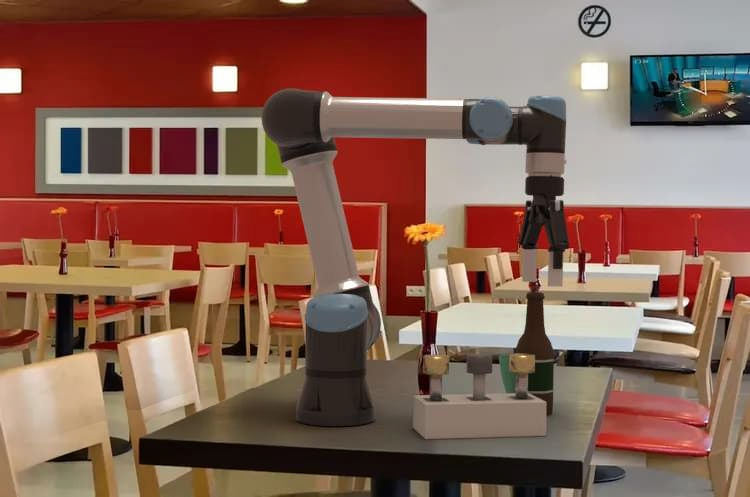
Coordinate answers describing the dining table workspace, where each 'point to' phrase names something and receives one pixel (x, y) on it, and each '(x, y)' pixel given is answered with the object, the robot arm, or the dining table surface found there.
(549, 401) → the beer bottle
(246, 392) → the dining table surface
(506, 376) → the mug
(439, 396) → the knob left
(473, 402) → the panel
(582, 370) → the dining table surface
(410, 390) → the dining table surface
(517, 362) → the knob right
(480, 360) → the knob mid
